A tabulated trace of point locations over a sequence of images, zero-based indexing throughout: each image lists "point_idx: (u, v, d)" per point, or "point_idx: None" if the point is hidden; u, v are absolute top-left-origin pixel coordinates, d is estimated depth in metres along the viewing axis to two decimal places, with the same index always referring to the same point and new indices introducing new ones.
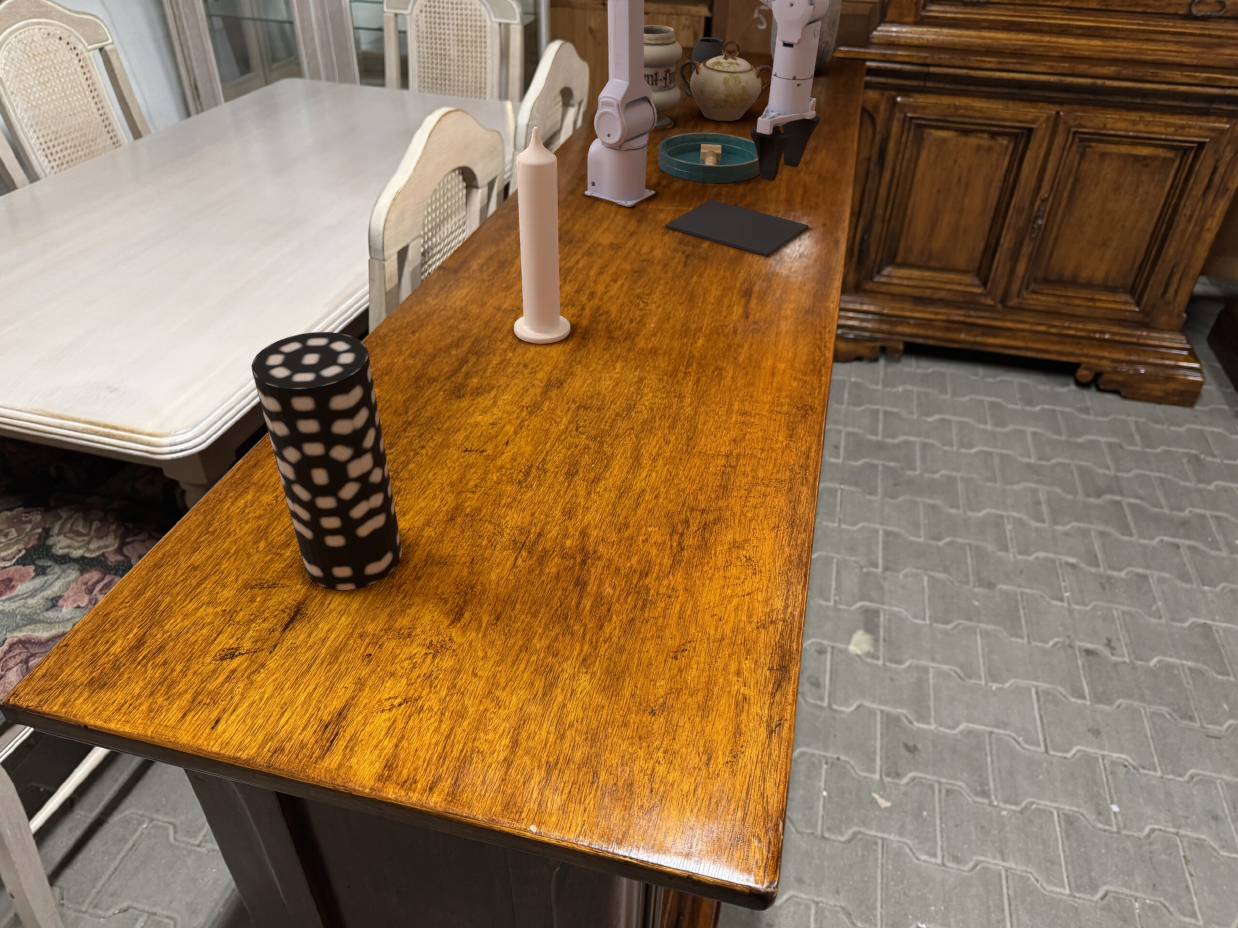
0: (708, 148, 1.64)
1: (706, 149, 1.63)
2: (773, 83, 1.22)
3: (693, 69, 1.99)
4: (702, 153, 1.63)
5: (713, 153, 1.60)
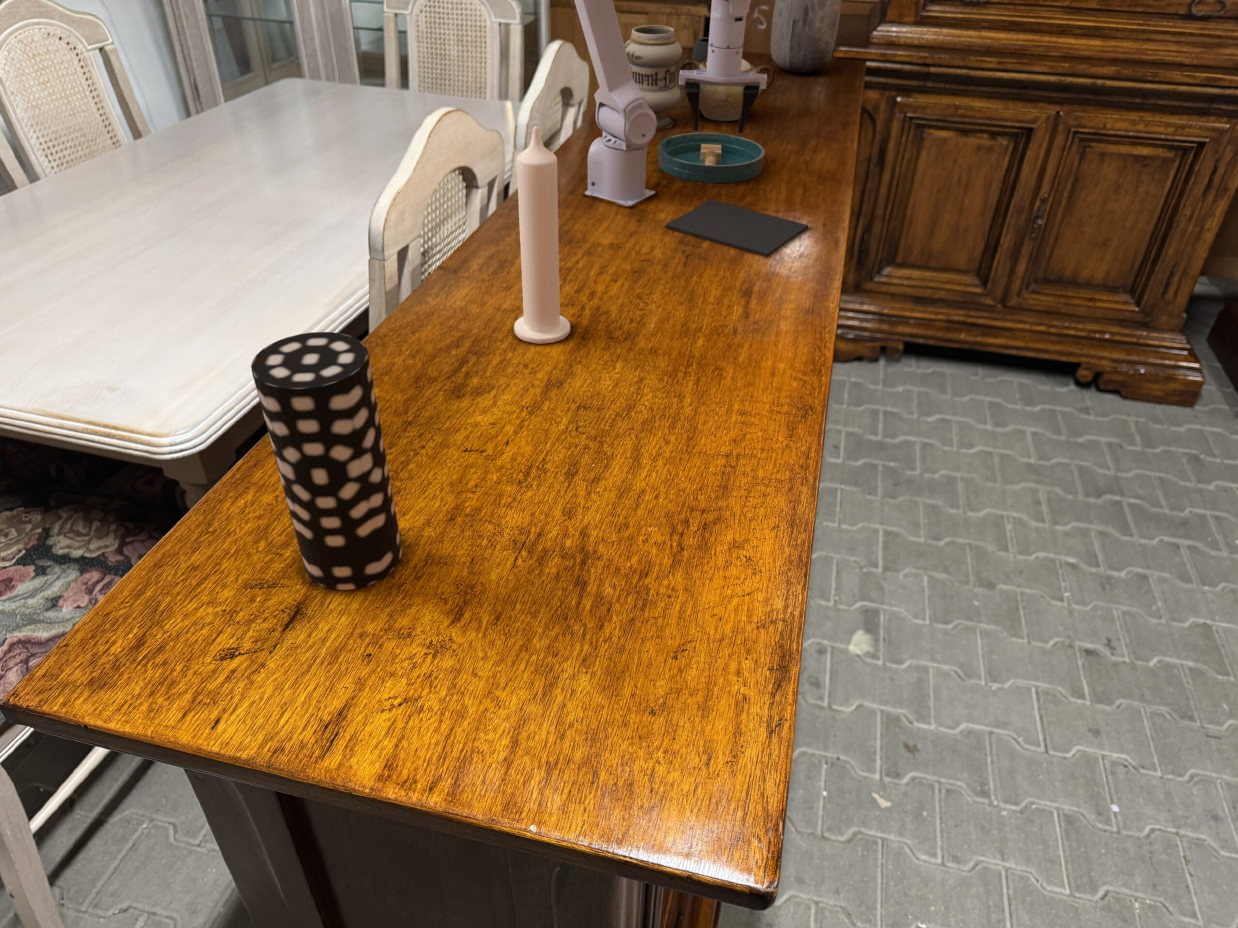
0: (708, 148, 1.64)
1: (706, 149, 1.63)
2: (739, 54, 1.43)
3: (693, 69, 1.99)
4: (702, 153, 1.63)
5: (713, 153, 1.60)
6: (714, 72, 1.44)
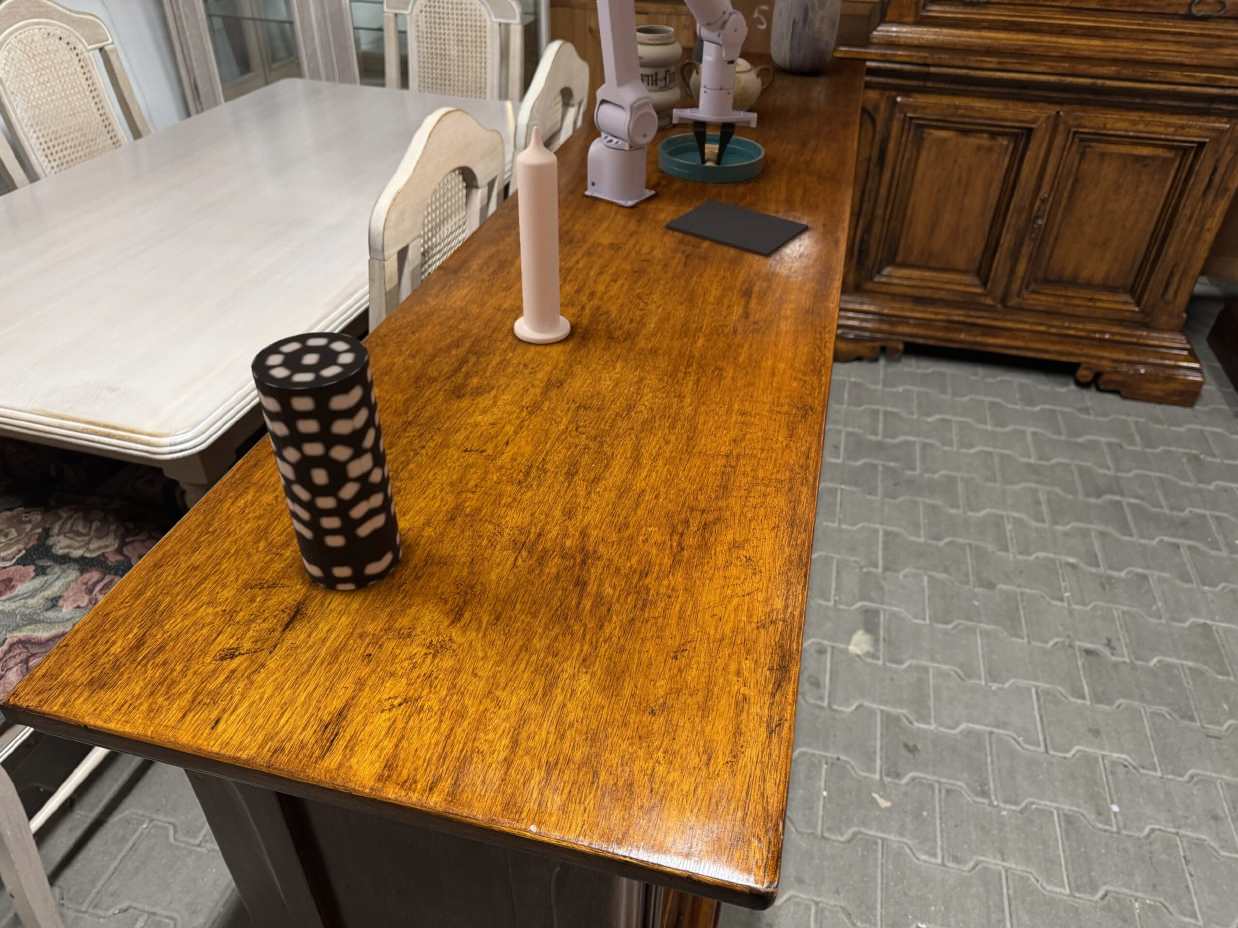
0: (708, 148, 1.64)
1: (706, 149, 1.63)
2: (730, 95, 1.48)
3: (693, 69, 1.99)
4: None
5: (713, 153, 1.60)
6: (706, 112, 1.50)
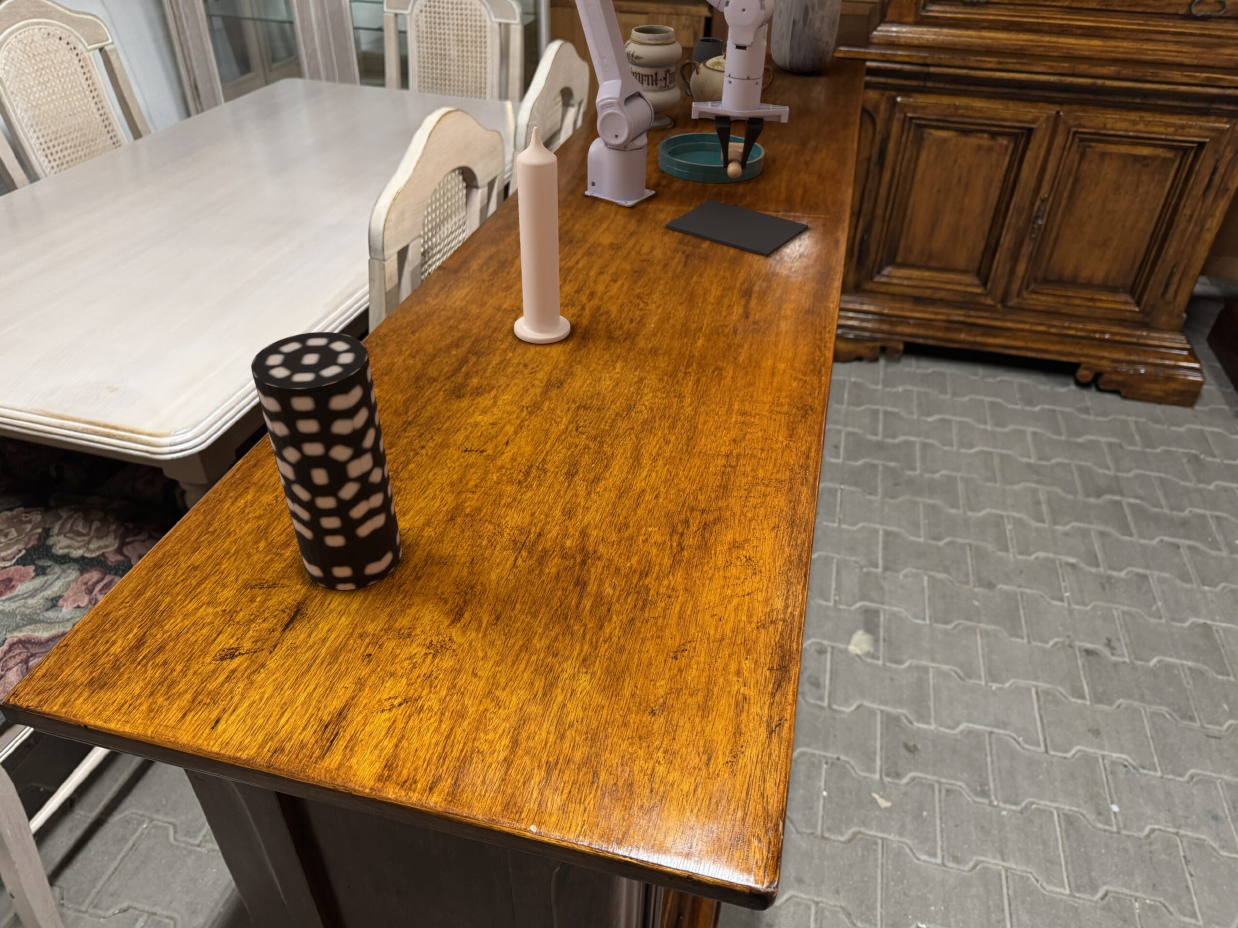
0: (730, 147, 1.44)
1: None
2: (758, 85, 1.29)
3: (693, 69, 1.99)
4: None
5: (736, 152, 1.41)
6: (731, 105, 1.30)
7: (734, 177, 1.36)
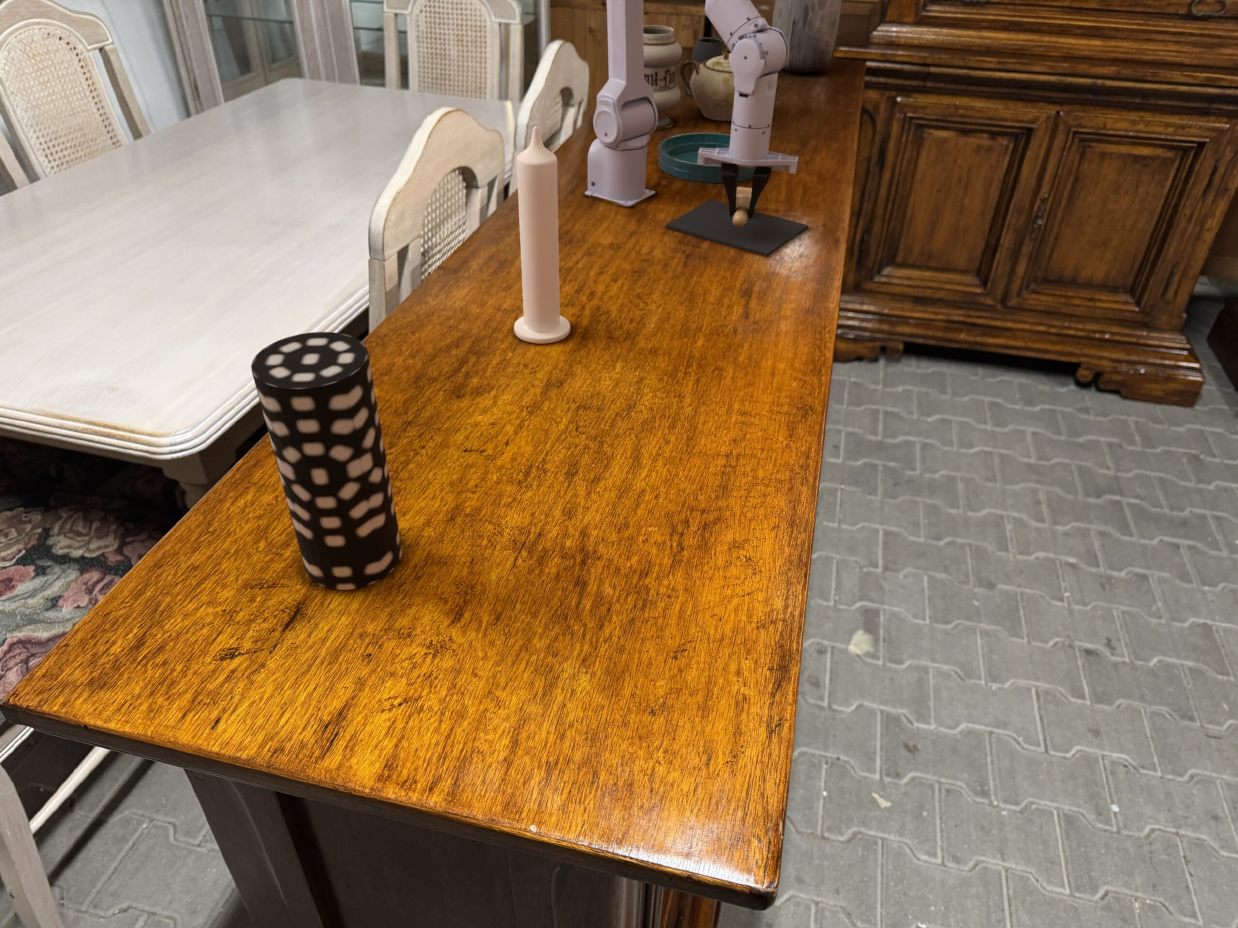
0: (744, 192, 1.40)
1: (741, 194, 1.40)
2: (765, 134, 1.24)
3: (693, 69, 1.99)
4: None
5: (747, 199, 1.36)
6: (737, 153, 1.26)
7: (739, 226, 1.32)
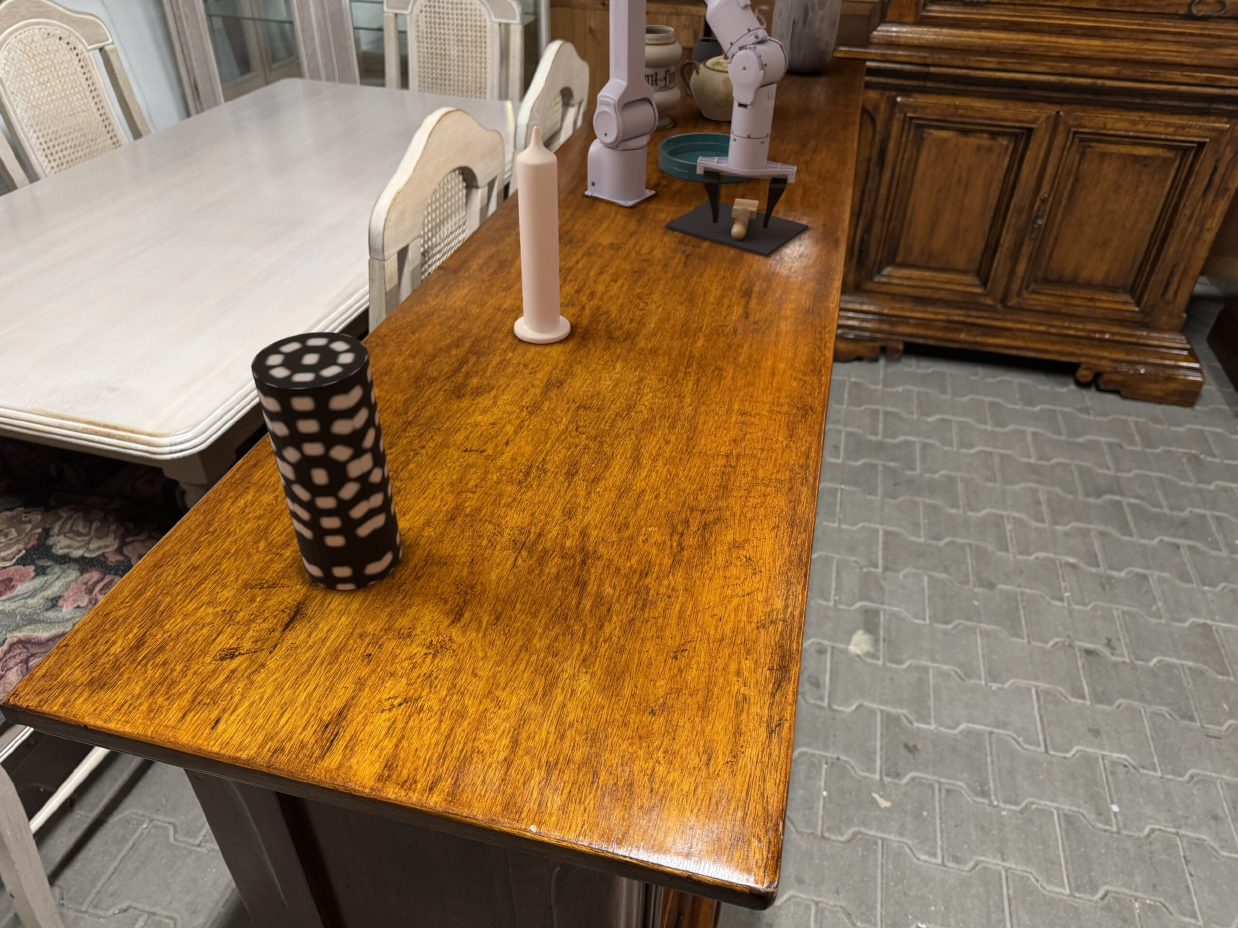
0: (742, 204, 1.41)
1: (740, 205, 1.41)
2: (764, 144, 1.25)
3: (693, 69, 1.99)
4: (734, 210, 1.40)
5: (745, 212, 1.37)
6: (736, 163, 1.27)
7: (737, 238, 1.33)
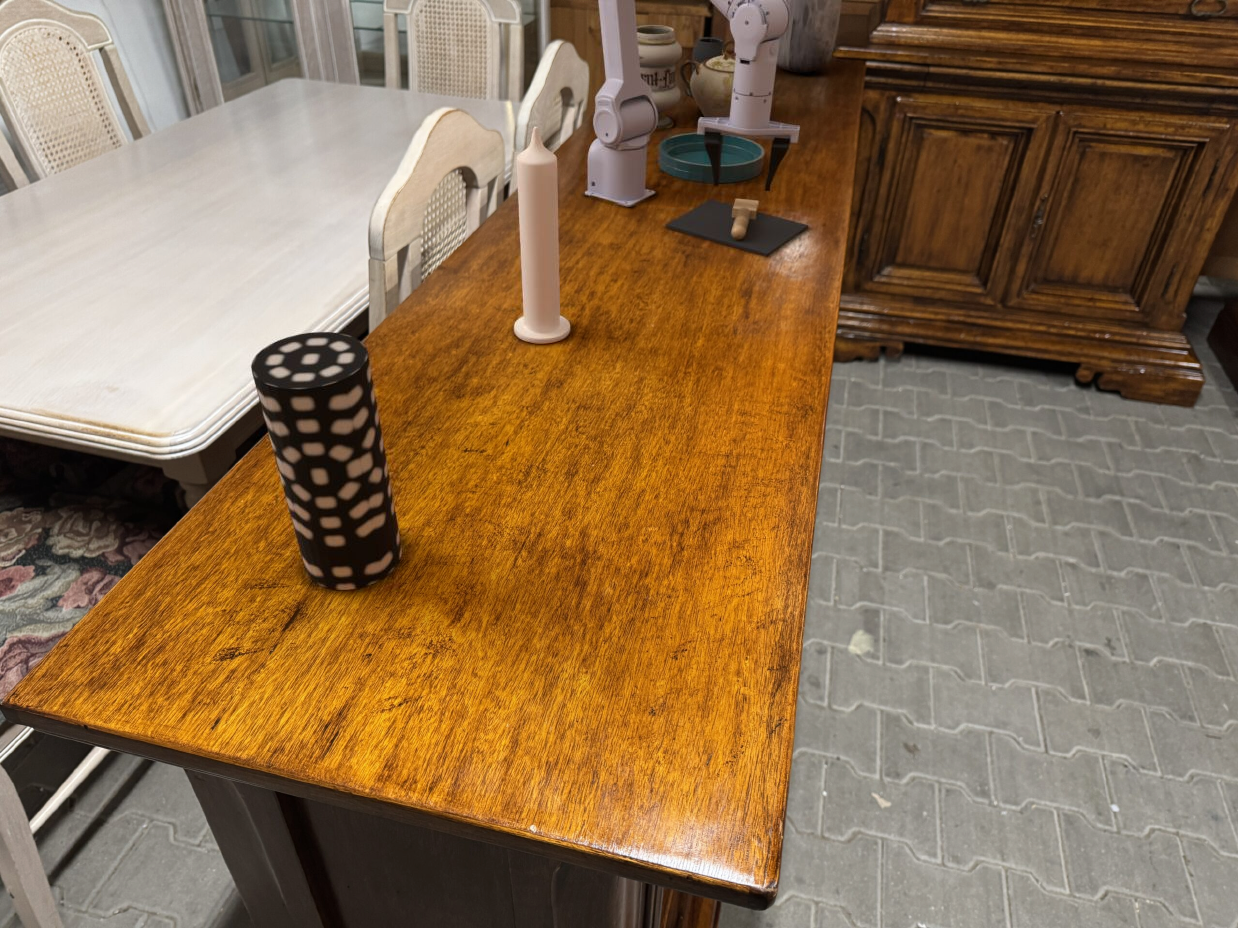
0: (742, 204, 1.41)
1: (740, 205, 1.41)
2: (766, 102, 1.22)
3: (693, 69, 1.99)
4: (734, 210, 1.40)
5: (745, 212, 1.37)
6: (737, 122, 1.24)
7: (737, 238, 1.33)
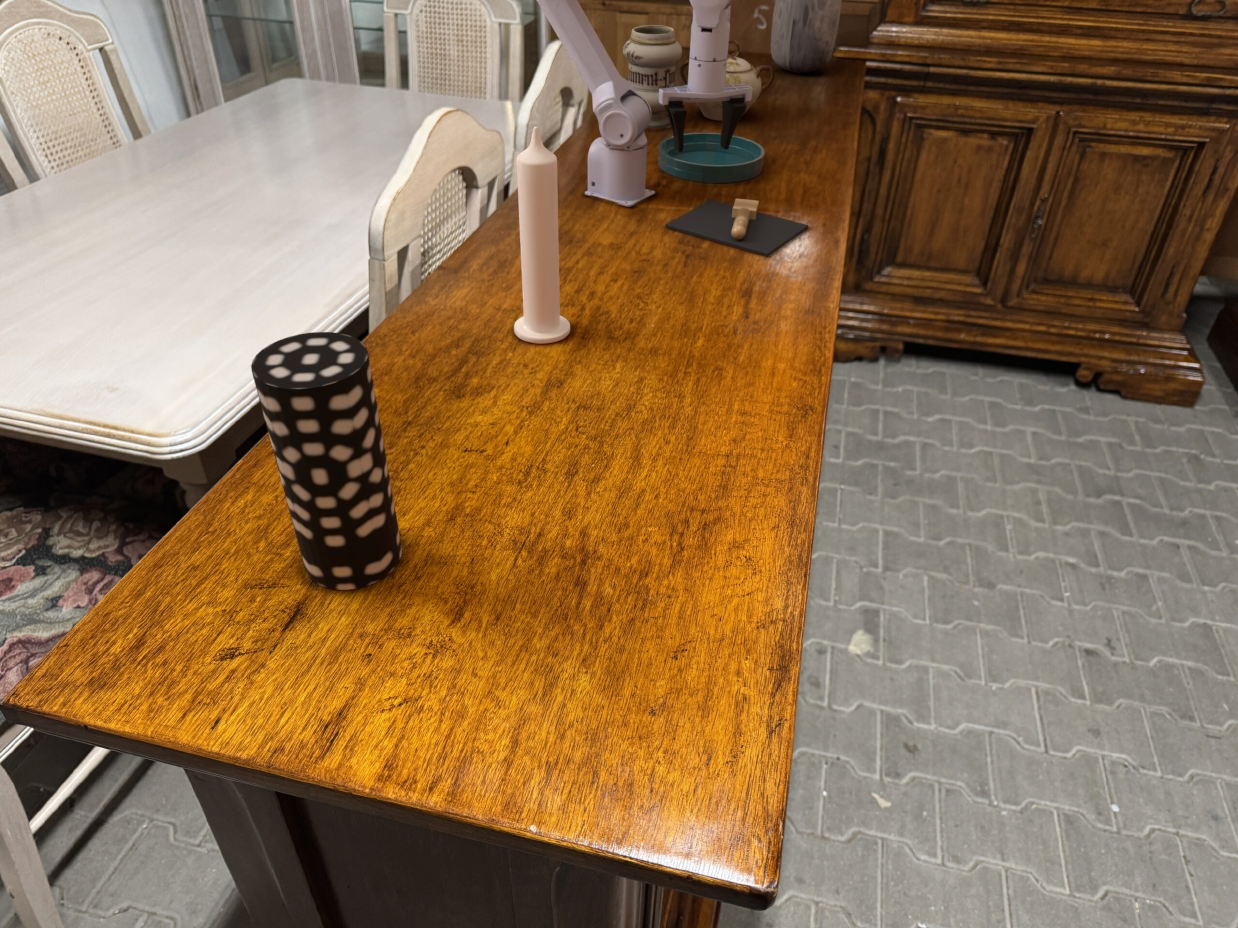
0: (742, 204, 1.41)
1: (740, 205, 1.41)
2: (725, 66, 1.32)
3: None
4: (734, 210, 1.40)
5: (745, 212, 1.37)
6: (702, 88, 1.32)
7: (737, 238, 1.33)
